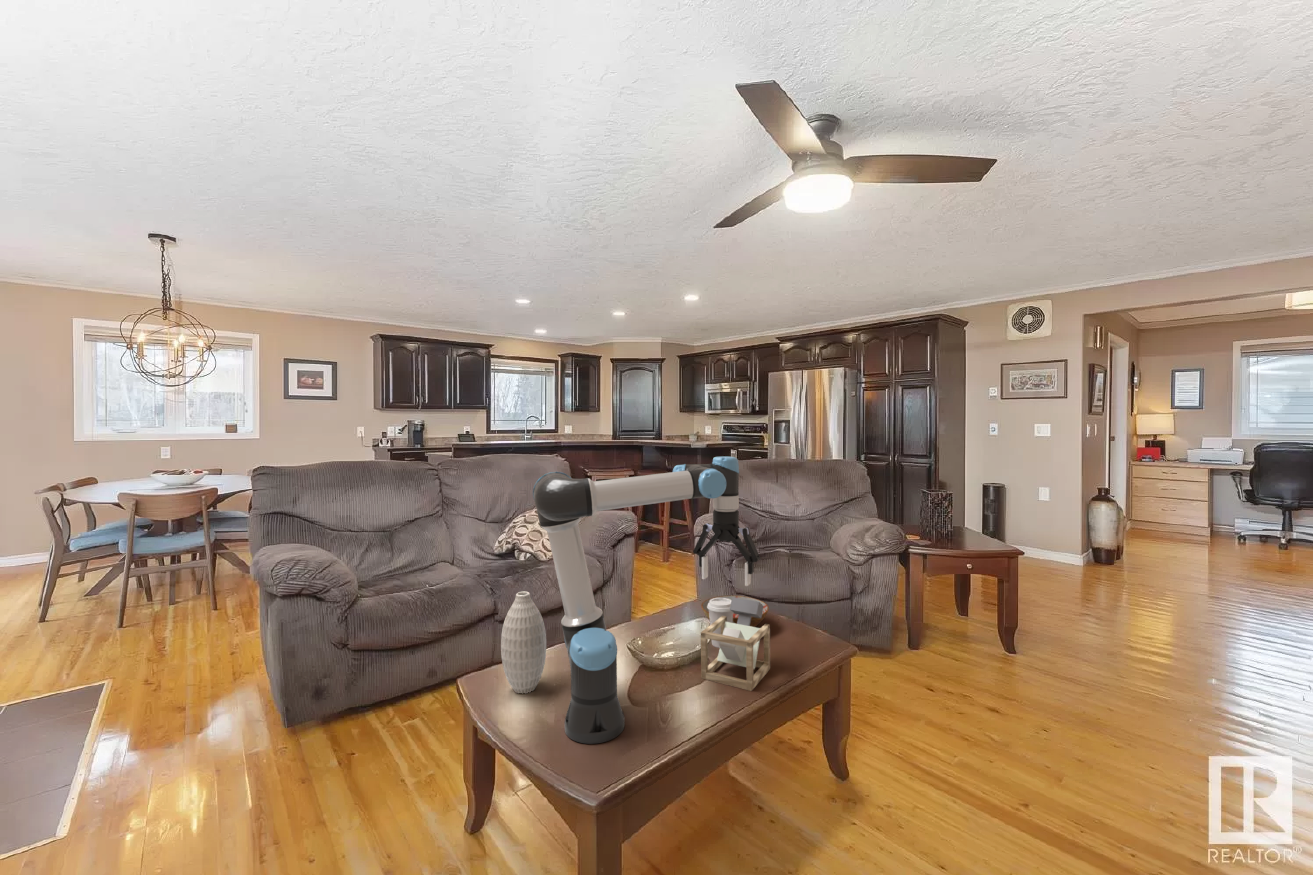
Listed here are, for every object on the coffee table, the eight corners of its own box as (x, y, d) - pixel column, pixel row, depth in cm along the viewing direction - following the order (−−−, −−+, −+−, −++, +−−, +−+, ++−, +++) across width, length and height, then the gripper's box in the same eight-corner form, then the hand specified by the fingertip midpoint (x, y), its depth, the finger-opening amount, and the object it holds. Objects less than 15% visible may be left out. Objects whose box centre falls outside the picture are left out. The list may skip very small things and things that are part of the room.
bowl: (698, 638, 196) (698, 616, 196) (704, 613, 221) (703, 593, 221) (770, 642, 192) (770, 619, 192) (767, 616, 217) (767, 596, 217)
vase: (493, 689, 161) (491, 593, 160) (530, 674, 170) (528, 583, 169) (518, 704, 152) (516, 603, 151) (555, 687, 161) (553, 592, 160)
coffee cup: (739, 642, 192) (739, 599, 192) (727, 652, 184) (727, 607, 184) (714, 636, 198) (714, 595, 197) (702, 646, 190) (702, 602, 189)
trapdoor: (756, 670, 167) (751, 667, 164) (720, 662, 173) (714, 658, 170) (768, 606, 176) (763, 602, 172) (733, 600, 182) (727, 596, 178)
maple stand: (751, 691, 158) (751, 642, 157) (701, 678, 166) (700, 632, 166) (770, 668, 172) (769, 624, 171) (722, 658, 180) (722, 615, 179)
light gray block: (741, 661, 166) (734, 648, 161) (726, 658, 169) (719, 645, 164) (747, 643, 170) (740, 630, 165) (731, 640, 172) (725, 627, 168)
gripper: (771, 510, 158) (771, 584, 159) (693, 504, 171) (693, 572, 172) (762, 514, 152) (762, 591, 153) (682, 507, 164) (682, 578, 165)
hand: (725, 581), depth 162 cm, fingers open, 13 cm apart
